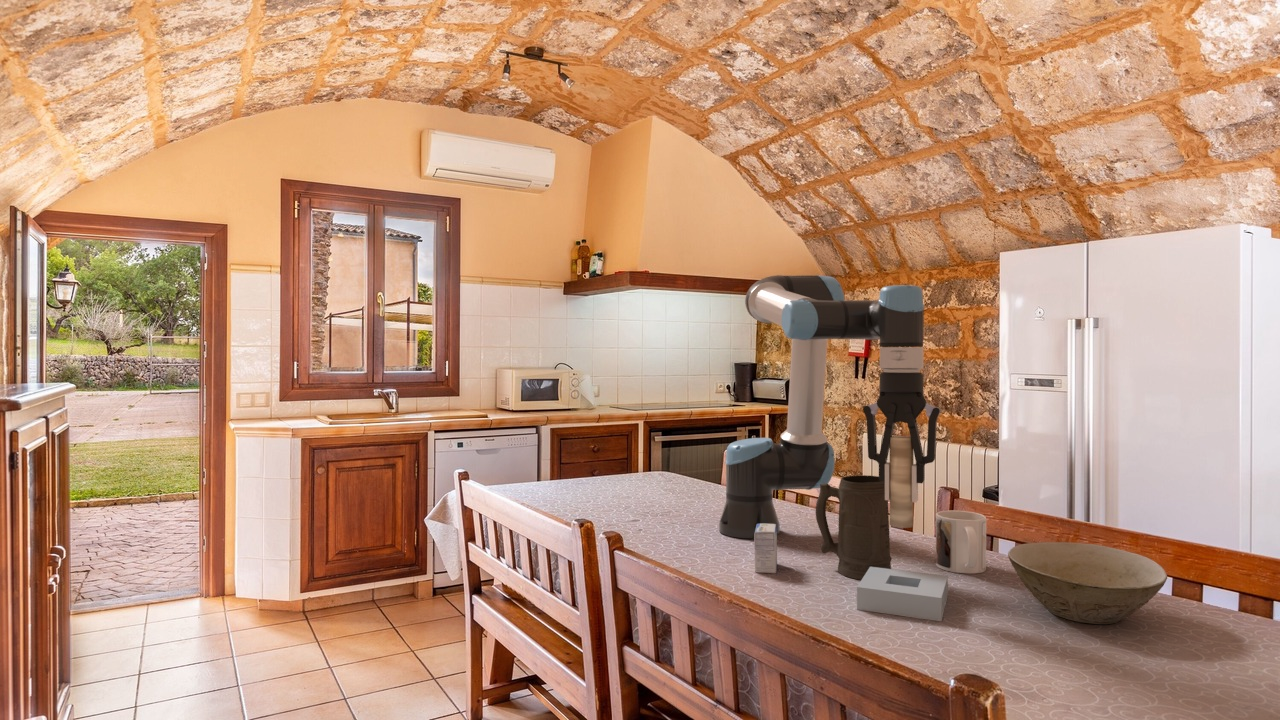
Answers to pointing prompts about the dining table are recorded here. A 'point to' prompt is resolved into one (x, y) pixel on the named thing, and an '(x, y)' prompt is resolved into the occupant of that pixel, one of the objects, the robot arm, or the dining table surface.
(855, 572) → the beer stein
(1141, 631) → the dining table surface
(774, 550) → the medicine box
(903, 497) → the beech peg
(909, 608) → the socket block
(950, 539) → the mug
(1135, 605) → the bowl
